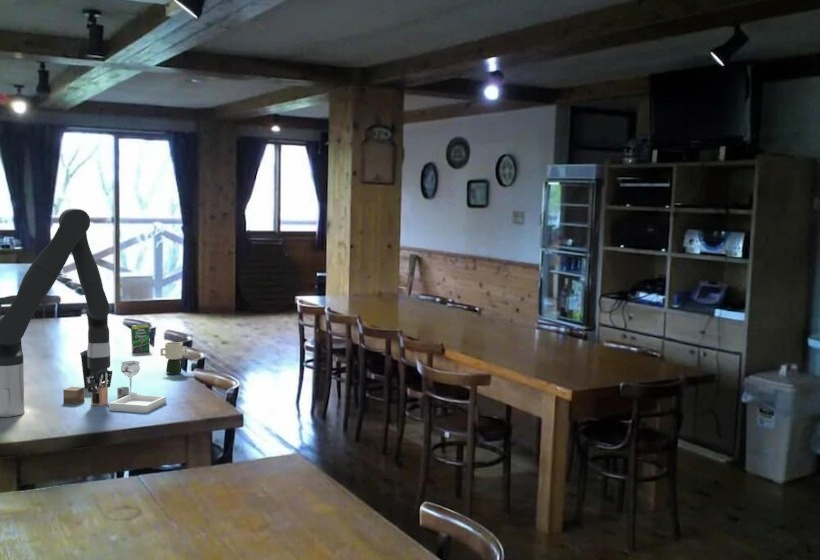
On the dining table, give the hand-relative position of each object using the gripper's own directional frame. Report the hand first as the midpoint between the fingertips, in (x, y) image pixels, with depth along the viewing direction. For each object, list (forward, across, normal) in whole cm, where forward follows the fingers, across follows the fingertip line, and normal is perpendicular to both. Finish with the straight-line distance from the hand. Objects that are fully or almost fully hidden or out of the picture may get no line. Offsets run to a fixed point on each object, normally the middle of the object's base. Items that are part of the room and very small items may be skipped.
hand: (99, 401), depth 284 cm
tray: (+1, 0, +15) cm, 15 cm away
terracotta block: (+1, 0, 0) cm, 1 cm away
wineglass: (+1, -16, +3) cm, 16 cm away
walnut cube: (+1, 0, -10) cm, 10 cm away
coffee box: (+1, -94, -36) cm, 101 cm away
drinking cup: (+1, -22, -17) cm, 28 cm away
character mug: (+1, -54, +2) cm, 54 cm away
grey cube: (+1, -9, +4) cm, 10 cm away
